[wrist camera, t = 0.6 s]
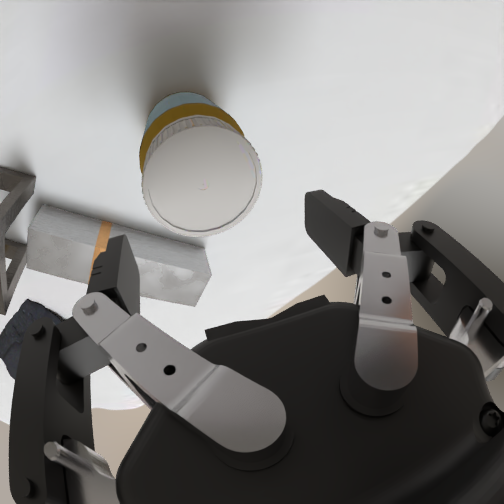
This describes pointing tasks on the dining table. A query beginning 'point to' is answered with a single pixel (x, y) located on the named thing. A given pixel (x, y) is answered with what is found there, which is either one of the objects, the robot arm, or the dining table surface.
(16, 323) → the dark slate chunk
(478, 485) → the robot arm
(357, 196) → the dining table surface
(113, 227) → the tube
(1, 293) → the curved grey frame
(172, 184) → the bottle
